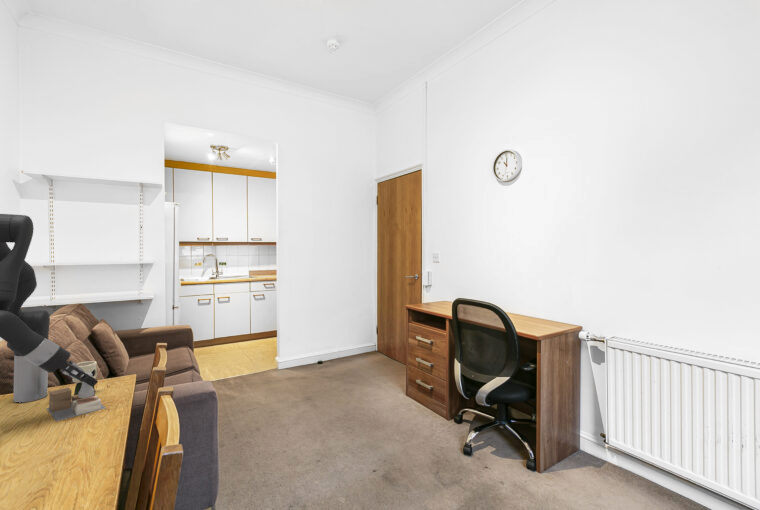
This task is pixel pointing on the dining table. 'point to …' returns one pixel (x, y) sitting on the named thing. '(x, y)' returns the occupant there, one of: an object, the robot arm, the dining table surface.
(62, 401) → the walnut castle blocks
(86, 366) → the character mug
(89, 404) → the white square block
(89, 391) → the rook chess piece
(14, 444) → the dining table surface
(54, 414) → the baseplate
